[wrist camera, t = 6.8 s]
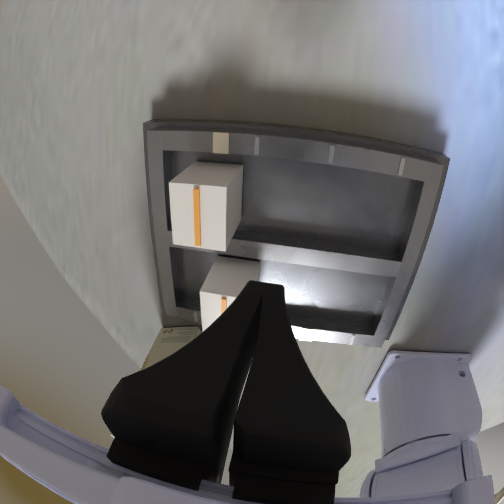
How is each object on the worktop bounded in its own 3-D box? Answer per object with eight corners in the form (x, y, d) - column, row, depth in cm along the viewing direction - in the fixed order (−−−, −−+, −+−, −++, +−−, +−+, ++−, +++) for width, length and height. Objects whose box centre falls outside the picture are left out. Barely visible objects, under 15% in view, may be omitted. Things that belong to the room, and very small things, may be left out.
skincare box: (160, 326, 29) (104, 432, 19) (200, 324, 28) (150, 442, 18) (186, 369, 32) (147, 467, 22) (223, 369, 31) (189, 476, 21)
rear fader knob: (260, 261, 22) (249, 300, 18) (257, 302, 24) (246, 342, 20) (217, 255, 22) (198, 292, 19) (217, 296, 24) (202, 334, 20)
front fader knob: (243, 164, 18) (225, 188, 15) (241, 219, 20) (225, 252, 17) (195, 161, 19) (167, 183, 15) (196, 214, 21) (172, 245, 17)
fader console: (443, 153, 17) (458, 164, 15) (386, 329, 25) (390, 351, 22) (151, 119, 19) (132, 126, 17) (167, 298, 27) (155, 317, 25)
